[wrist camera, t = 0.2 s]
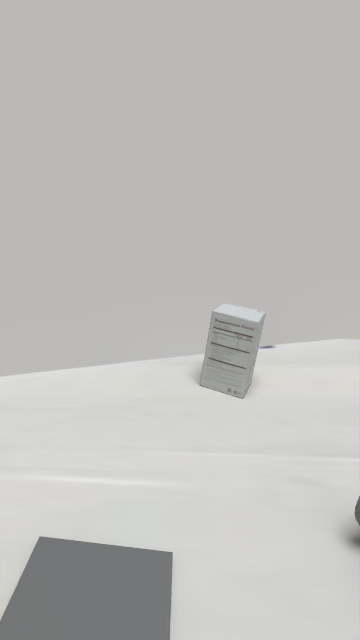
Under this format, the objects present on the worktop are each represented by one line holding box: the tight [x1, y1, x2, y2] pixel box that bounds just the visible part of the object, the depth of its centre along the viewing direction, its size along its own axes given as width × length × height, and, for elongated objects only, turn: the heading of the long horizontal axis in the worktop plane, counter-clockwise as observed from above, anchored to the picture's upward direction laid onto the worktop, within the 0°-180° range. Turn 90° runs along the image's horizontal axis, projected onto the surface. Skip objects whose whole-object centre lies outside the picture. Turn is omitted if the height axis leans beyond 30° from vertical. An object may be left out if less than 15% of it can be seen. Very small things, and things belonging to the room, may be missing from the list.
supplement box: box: [200, 304, 266, 398], centre depth 53 cm, size 7×7×13 cm
